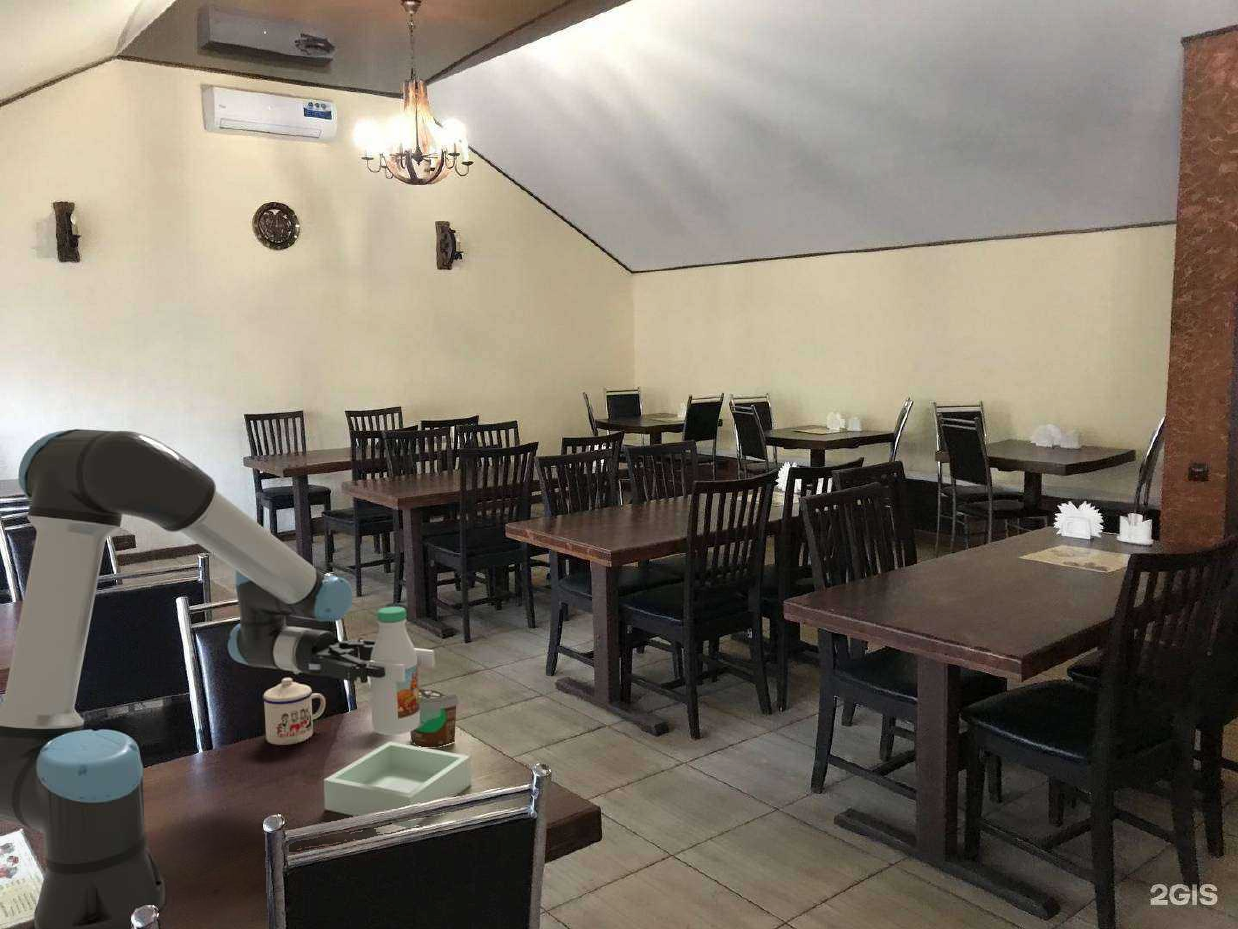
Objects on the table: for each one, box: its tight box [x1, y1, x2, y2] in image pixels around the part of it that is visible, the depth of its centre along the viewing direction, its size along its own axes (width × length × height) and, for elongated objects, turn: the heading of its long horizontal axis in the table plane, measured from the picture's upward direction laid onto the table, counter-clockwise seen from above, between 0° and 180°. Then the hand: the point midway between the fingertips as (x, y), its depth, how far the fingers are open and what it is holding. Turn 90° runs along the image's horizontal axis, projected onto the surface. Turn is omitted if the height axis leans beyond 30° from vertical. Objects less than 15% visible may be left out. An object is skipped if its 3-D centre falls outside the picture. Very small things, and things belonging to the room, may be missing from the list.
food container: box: [409, 688, 460, 749], centre depth 181 cm, size 12×6×10 cm, turn 55°
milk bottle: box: [370, 606, 420, 736], centre depth 157 cm, size 8×8×20 cm
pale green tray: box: [323, 741, 472, 829], centre depth 159 cm, size 17×17×5 cm
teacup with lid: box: [262, 677, 326, 746], centre depth 186 cm, size 12×9×12 cm
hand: (418, 666), depth 155 cm, fingers closed on milk bottle, 7 cm apart
